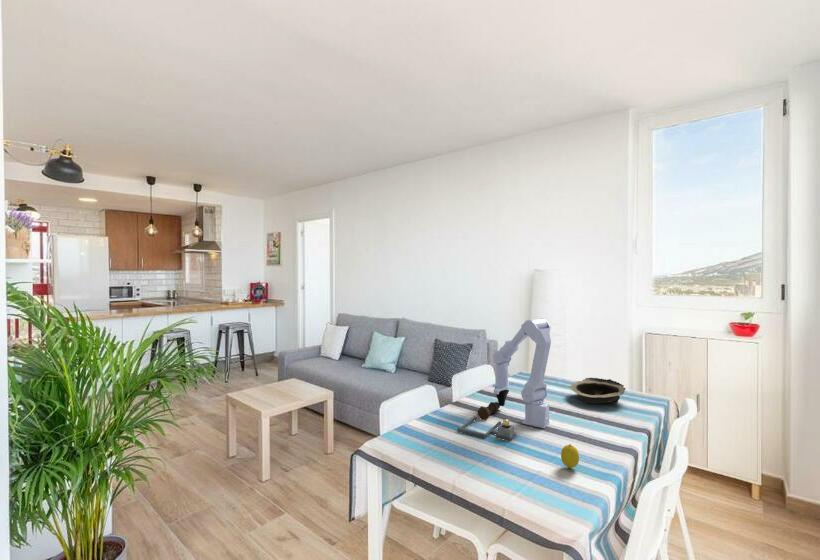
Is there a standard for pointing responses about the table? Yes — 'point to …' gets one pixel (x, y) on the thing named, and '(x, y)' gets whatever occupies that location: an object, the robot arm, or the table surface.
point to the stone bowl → (598, 390)
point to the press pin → (506, 423)
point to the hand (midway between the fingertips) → (501, 405)
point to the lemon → (570, 456)
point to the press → (491, 431)
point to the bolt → (488, 410)
